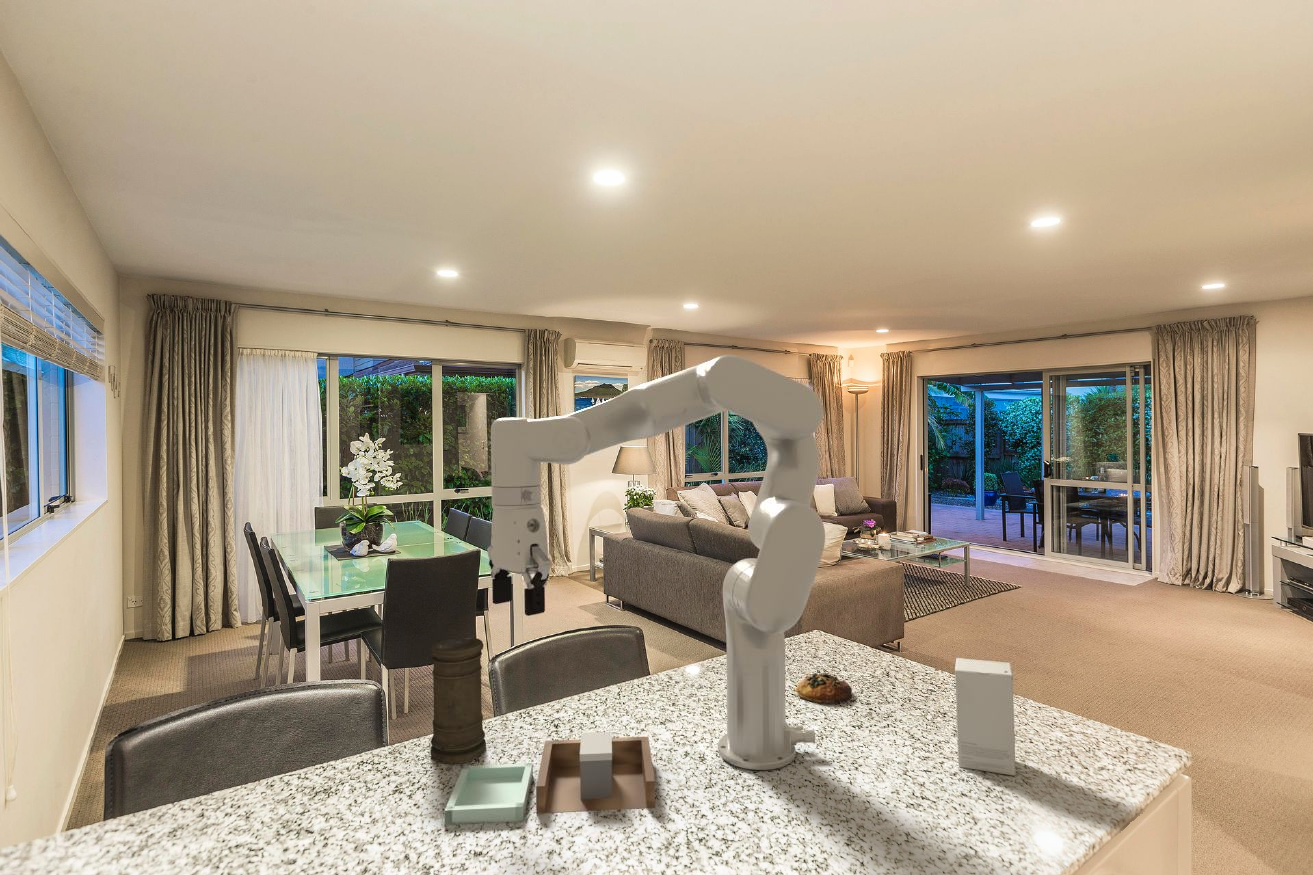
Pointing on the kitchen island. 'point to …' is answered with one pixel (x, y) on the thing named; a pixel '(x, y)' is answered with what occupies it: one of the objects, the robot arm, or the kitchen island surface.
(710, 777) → the kitchen island surface
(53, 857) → the kitchen island surface
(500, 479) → the robot arm
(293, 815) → the kitchen island surface
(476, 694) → the container
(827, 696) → the bread roll
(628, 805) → the bay
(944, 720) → the kitchen island surface
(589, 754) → the off-white upright block
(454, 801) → the tray
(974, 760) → the skincare box
